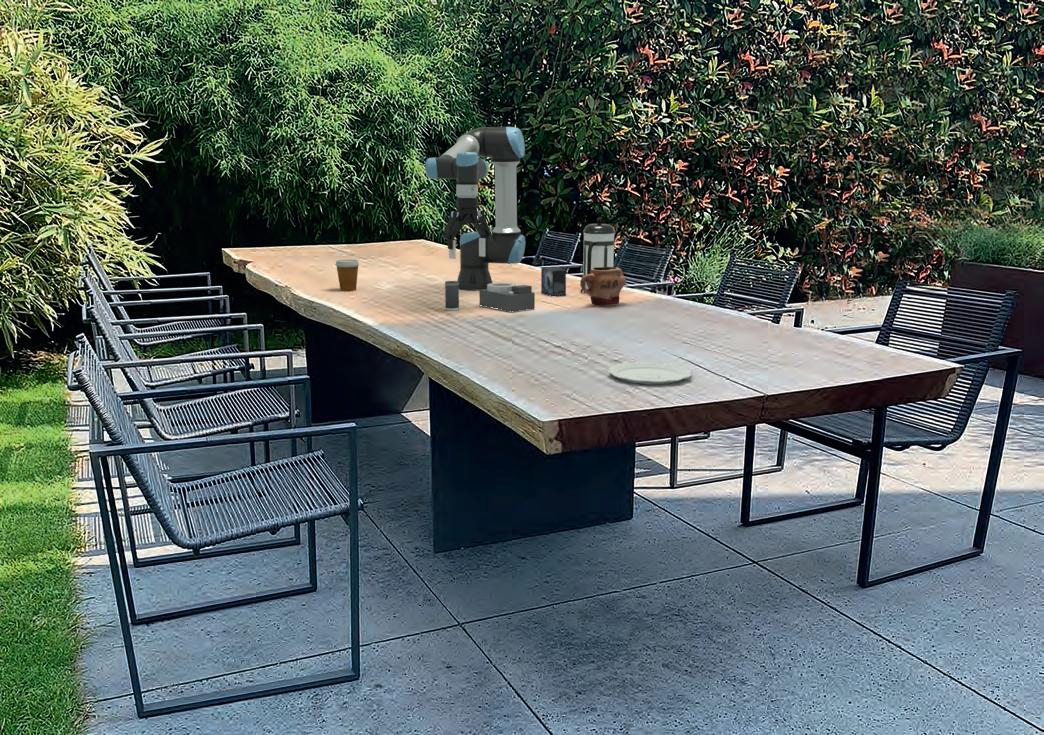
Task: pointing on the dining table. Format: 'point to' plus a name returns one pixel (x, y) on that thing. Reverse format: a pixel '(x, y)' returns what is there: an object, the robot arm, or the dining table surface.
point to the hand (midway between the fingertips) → (467, 257)
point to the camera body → (508, 296)
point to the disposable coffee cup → (347, 274)
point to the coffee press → (598, 247)
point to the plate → (649, 372)
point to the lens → (451, 295)
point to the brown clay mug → (604, 285)
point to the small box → (553, 281)
